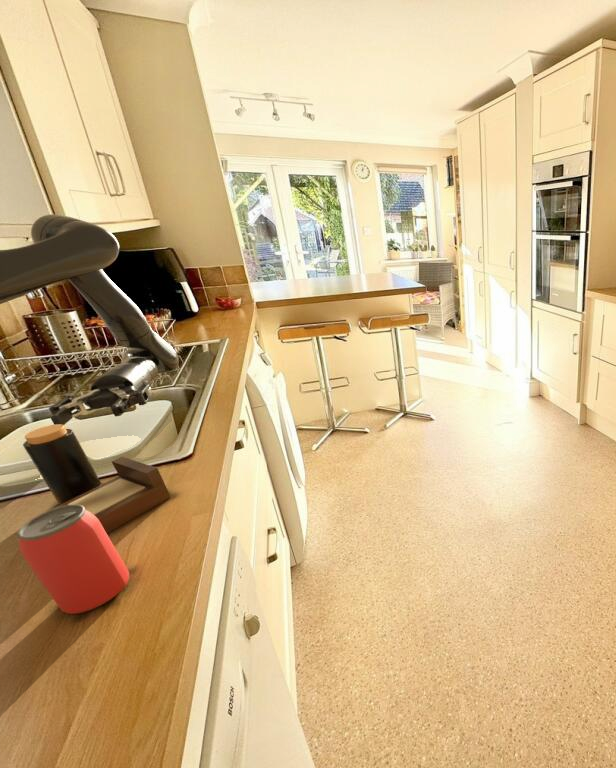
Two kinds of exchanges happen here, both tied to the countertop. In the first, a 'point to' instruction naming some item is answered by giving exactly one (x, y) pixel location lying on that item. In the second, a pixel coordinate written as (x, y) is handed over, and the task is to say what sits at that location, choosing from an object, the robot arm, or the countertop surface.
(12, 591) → the countertop surface
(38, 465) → the black canister
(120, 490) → the brown wooden stand
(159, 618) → the countertop surface
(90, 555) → the beer can
